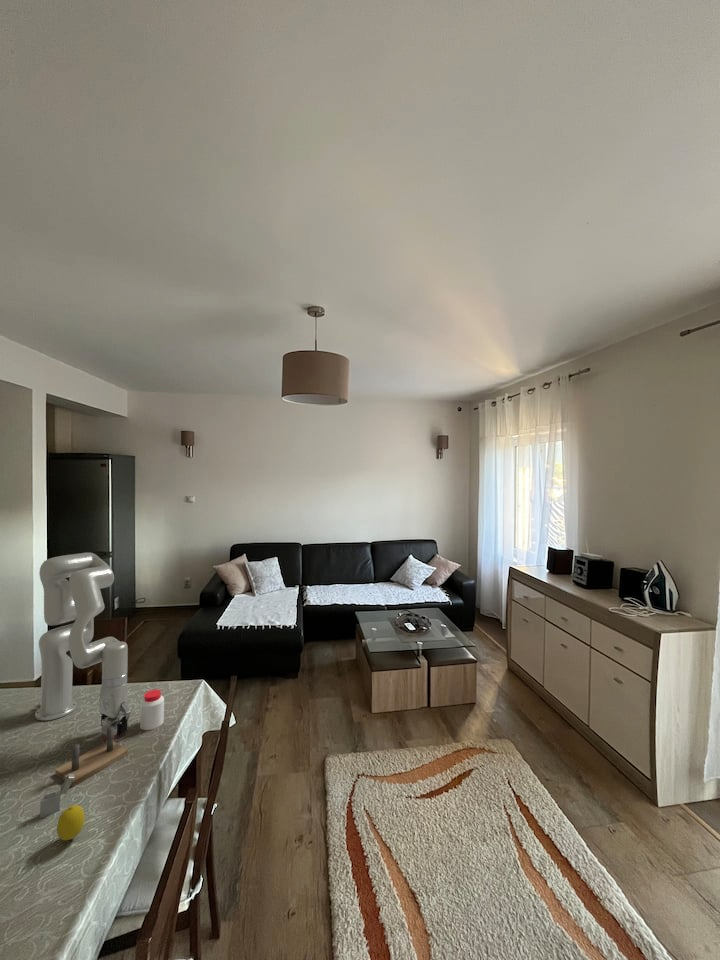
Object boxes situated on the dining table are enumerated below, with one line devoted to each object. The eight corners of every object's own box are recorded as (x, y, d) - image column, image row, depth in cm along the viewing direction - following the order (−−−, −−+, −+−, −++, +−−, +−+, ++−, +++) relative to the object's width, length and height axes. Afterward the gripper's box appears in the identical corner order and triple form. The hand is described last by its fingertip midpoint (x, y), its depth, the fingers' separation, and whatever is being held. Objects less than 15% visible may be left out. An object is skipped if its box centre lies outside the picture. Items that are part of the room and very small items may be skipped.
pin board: (55, 774, 119) (56, 745, 119) (110, 744, 133) (111, 718, 133) (72, 787, 114) (73, 757, 114) (127, 754, 128) (128, 728, 128)
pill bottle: (153, 731, 140) (154, 700, 140) (134, 728, 142) (135, 697, 142) (168, 719, 148) (169, 689, 148) (150, 716, 149) (151, 686, 149)
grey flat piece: (40, 818, 104) (41, 787, 104) (40, 814, 105) (40, 783, 105) (73, 804, 108) (74, 775, 108) (73, 800, 109) (73, 771, 110)
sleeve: (101, 737, 137) (102, 719, 137) (116, 729, 141) (116, 712, 141) (109, 741, 134) (110, 724, 134) (124, 733, 139) (124, 716, 139)
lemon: (66, 829, 100) (66, 798, 100) (89, 828, 101) (89, 797, 101) (50, 850, 95) (51, 816, 95) (75, 848, 95) (76, 815, 95)
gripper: (89, 678, 139) (88, 727, 138) (117, 690, 130) (117, 743, 130) (111, 669, 145) (111, 716, 145) (140, 681, 137) (139, 731, 137)
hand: (114, 729), depth 137 cm, fingers open, 9 cm apart
